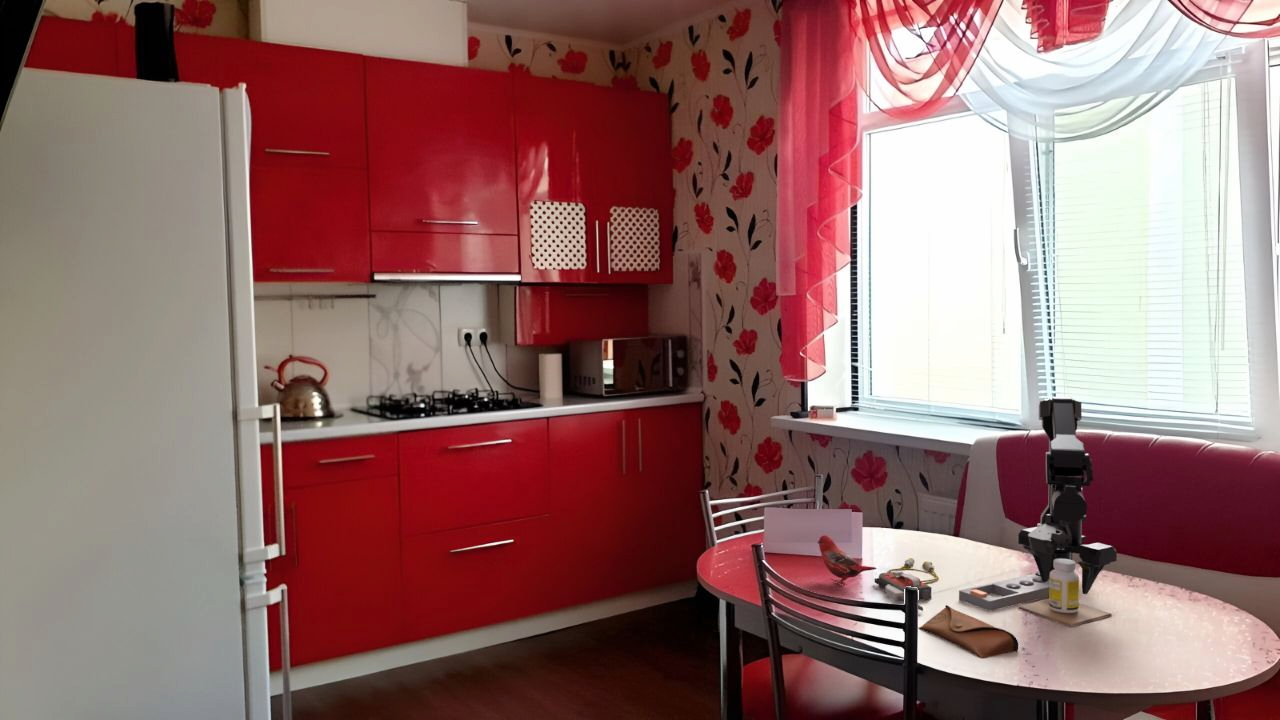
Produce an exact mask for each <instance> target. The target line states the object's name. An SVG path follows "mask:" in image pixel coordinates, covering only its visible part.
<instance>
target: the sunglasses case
mask: <svg viewBox="0 0 1280 720" xmlns="http://www.w3.org/2000/svg"><path fill="white" fill-rule="evenodd" d="M917 629H919V630H920V631H923V632H926V633H929V634H931V635H934V636H936V637H938V638H940V639H943V640H944V641H947V642H949V643H951V644H953V645H955V646H957V647H959V648H961V649H963V650H965V651H968V652H969V653H972V654H973V655H976V656H977V657H978V658H981V659H987V658H991V657H996V656H1001V655H1006V654H1010V653H1013V652H1014V653H1017V652H1018V650H1019V641H1018V639H1017V638H1016V636H1015V635H1014V634H1013V633H1011V632H1010V631H1007V630H1005V629H1003V628H999V627H995V626H994V625H992V624H989V623H987V622H985V621H983V620H982V619H981V620H980V619H979V618H977V617H973V616H971V615H969V614H966V613H964V612H960V611H959V610H956V609H954V608H952V607H951V606H949V605H947V604H946V605H945V608H943V609H941V611H939V612H938V613H937V614H935V615H933V617H931V618H930V619H929V620H927V621H926V622H925V623H924V624H923V625H921V626H918V627H917Z"/></svg>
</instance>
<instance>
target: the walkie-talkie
mask: <svg viewBox="0 0 1280 720" xmlns="http://www.w3.org/2000/svg"><path fill="white" fill-rule="evenodd" d="M873 580H874V581H873V582H874V583H875V584H876V585H878V588H880V589H882V590H883V589H884V590H883V591H884V592H885V597H886V598H888V599H890V600H892V601H893V602H894V603H900V602H901V603H904V589H905V587H906V586H911V587H917V588H918V590H919V601H925V600H926V601H928V600H931V599H932V586H930V585H929V584H924V583H925V582H921V581H922V580H921V578H919V577H917V576H915V575H913V574H911V573H904V572H903V570H896V571H892V572H888V573H887V572H881V573H879V575H878V578H874V579H873ZM918 610H919V611H921V612H923V611H924V607H923V606H922V605H920V604H918Z"/></svg>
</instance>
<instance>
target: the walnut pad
mask: <svg viewBox="0 0 1280 720" xmlns="http://www.w3.org/2000/svg"><path fill="white" fill-rule="evenodd" d="M1018 610H1021V611H1023V612H1025V613H1026V612H1027V613H1028V614H1029V613H1030V614H1032V615H1035V616H1038V617H1041V618H1043V619H1046V620H1049V621H1053V622H1055V623H1058V624H1061V625H1064V626H1067V627H1068V628H1069V627H1070V628H1071V627H1075V626H1079V625H1083V624H1087V623H1090V622H1094V621H1097V620H1098V621H1099V620H1100V619H1104V618H1108V617H1112V613H1111V612H1108V611H1106V610H1102V609H1099V608H1095V607H1092V606H1090V605H1087V604H1084V603H1080V602H1079V609H1078V611H1077V612H1075V613H1060V612H1056V611H1053V610H1052V609H1050V607H1049V598H1047V599H1044V600H1043V599H1042V600H1039V601H1035V602H1031V603H1027V604H1022V605H1018Z"/></svg>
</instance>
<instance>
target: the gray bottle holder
mask: <svg viewBox="0 0 1280 720" xmlns="http://www.w3.org/2000/svg"><path fill="white" fill-rule="evenodd" d="M992 594H994V595H997V596H999V597H994V596H991V595H992ZM1045 598H1049V579H1048V581H1047V582H1043V581H1042V578H1041V577H1040V576H1037V575H1035V573H1034V574H1033V573H1031V574H1026V575H1022V576H1021V575H1020V576H1016V577H1013V578H1009V579H1004V580H1000V581H994V582H990V583H986V584H982V585H978V586H973V587H968V588H964V589H959V590H958V601H961V602H963V603H967V604H969V605H971V606H974V607H977V608H981V609H983V610H986V611H988V612H991V611H995V610H999V609H1004V608H1008V607H1012V606H1016V605H1020V604H1024V603H1028V602H1032V601H1035V600H1036V601H1037V600H1041V599H1045Z"/></svg>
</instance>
